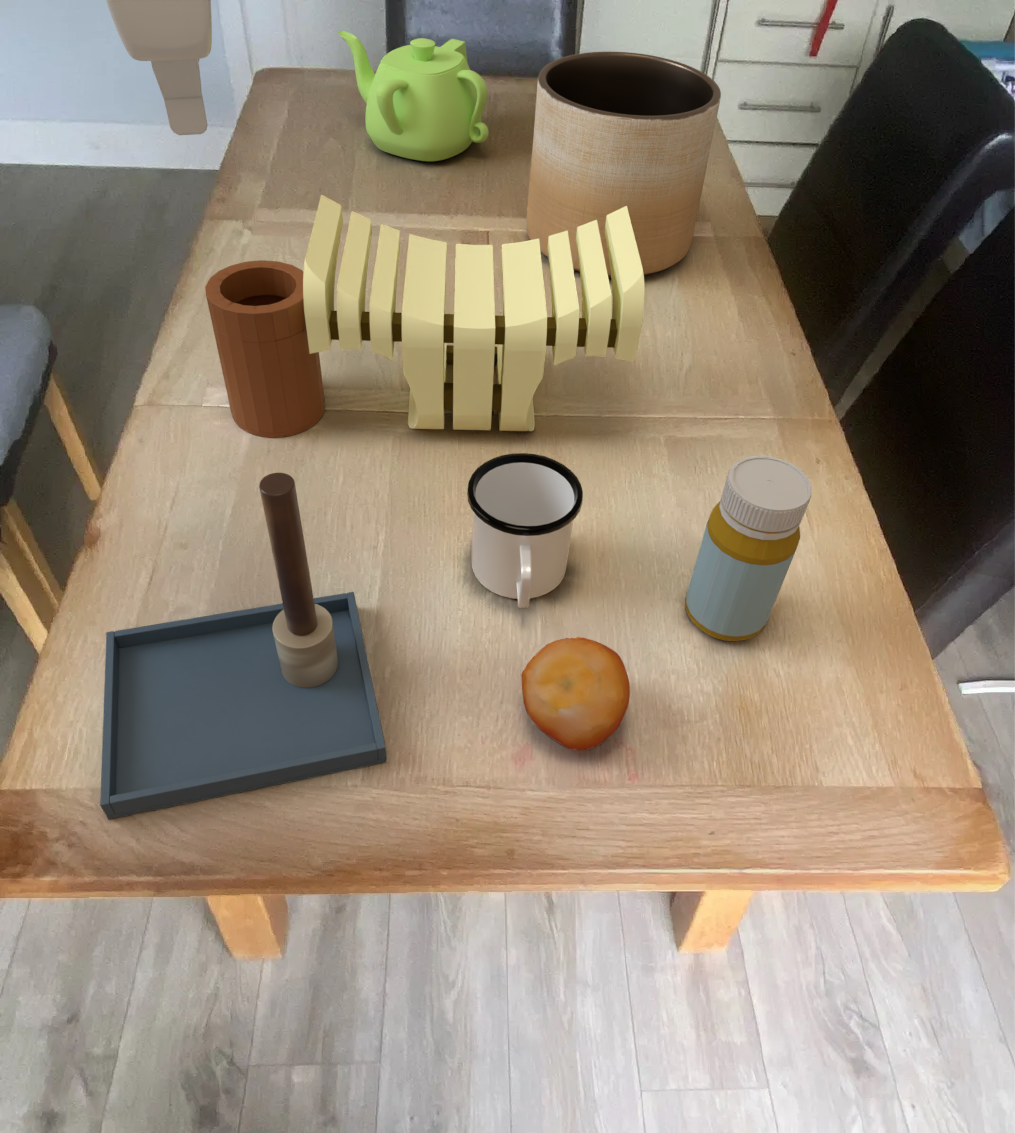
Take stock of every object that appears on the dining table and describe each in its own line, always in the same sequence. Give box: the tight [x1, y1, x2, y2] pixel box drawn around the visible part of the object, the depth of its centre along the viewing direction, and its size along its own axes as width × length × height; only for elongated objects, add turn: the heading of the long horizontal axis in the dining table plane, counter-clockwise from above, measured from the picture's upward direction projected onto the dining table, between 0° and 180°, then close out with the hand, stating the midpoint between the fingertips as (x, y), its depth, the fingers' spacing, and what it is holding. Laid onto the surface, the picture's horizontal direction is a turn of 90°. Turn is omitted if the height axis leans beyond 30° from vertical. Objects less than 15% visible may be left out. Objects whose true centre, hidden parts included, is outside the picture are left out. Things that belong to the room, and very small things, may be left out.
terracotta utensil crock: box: [204, 259, 326, 438], centre depth 88 cm, size 9×9×14 cm
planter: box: [526, 51, 722, 278], centre depth 114 cm, size 22×22×20 cm
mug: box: [466, 452, 584, 609], centre depth 76 cm, size 12×10×9 cm
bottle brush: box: [258, 472, 338, 688], centre depth 64 cm, size 4×4×19 cm
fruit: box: [520, 636, 631, 751], centre depth 67 cm, size 8×8×8 cm
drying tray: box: [99, 591, 388, 820], centre depth 68 cm, size 19×15×2 cm
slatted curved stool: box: [303, 194, 645, 432], centre depth 90 cm, size 30×16×18 cm, turn 92°
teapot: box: [337, 30, 489, 162], centre depth 135 cm, size 19×20×14 cm
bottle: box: [684, 454, 813, 642], centre depth 72 cm, size 7×7×15 cm
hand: (187, 94), depth 49 cm, fingers open, 8 cm apart
